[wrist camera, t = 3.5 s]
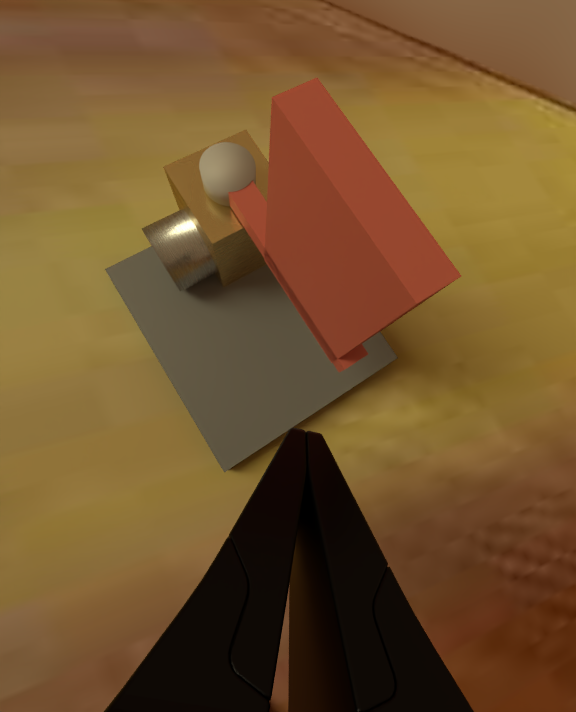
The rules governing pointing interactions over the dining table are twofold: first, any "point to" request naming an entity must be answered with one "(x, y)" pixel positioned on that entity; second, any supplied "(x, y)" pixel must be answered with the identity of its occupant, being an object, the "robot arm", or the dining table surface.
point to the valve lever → (329, 223)
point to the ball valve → (206, 225)
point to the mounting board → (237, 353)
